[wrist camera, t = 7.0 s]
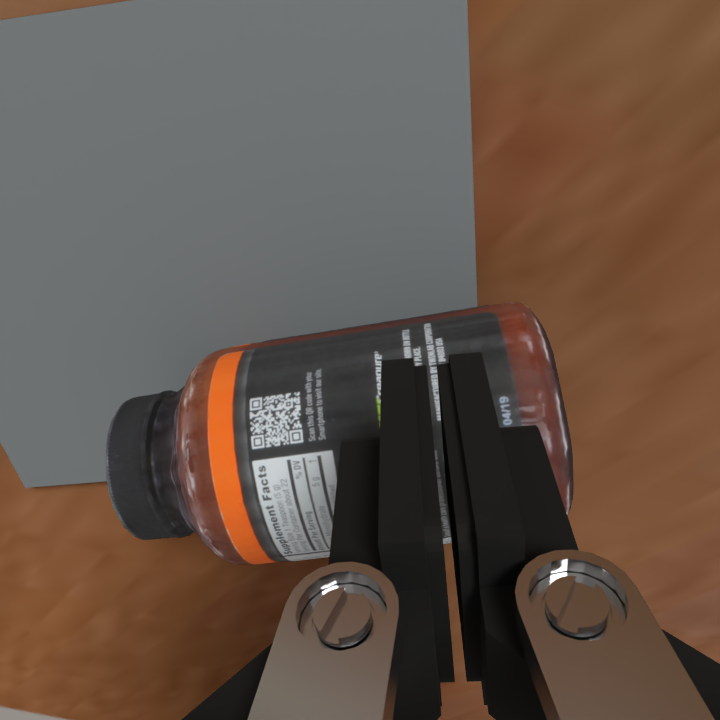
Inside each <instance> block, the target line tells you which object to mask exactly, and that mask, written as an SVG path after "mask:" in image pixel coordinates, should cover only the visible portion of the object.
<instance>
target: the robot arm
mask: <svg viewBox="0 0 720 720" xmlns="http://www.w3.org/2000/svg"><path fill="white" fill-rule="evenodd" d="M437 376H438V389H439V402H440V416H441V429H442V442H443V456H444V469H445V482H446V494H447V504H448V513H449V522H450V531H451V540H452V550H453V559H454V568H455V577H456V586H457V596H458V605H459V614H460V623H461V632H462V642H463V651H464V660H465V669H466V678H467V682H468V681H481V683H482V690H483V698H484V705H488V712H489V714H490V715H491V716H492V717H493V718H494V719H496V720H720V664H719V663H717V662H715V661H714V660H712V659H710V658H709V657H707V656H705V655H704V654H702V653H700V652H699V651H697V650H695V649H694V648H692V647H691V646H689V645H687V644H686V643H684V642H682V641H681V640H679V639H677V638H676V637H674V636H672V635H671V634H669V633H667V632H666V631H664V630H662V629H661V627H660V626H659V624H658V622H657V621H656V619H655V617H654V616H653V614H652V612H651V611H650V609H649V607H648V605H647V604H646V602H645V600H644V599H643V597H642V595H641V594H640V592H639V590H638V588H637V587H636V585H635V584H634V583H633V582H632V580H631V579H630V578H629V577H628V576H627V574H626V573H625V572H624V571H623V570H621V569H620V568H618V567H617V566H616V565H614V564H613V563H612V562H610V561H609V560H606V559H604V558H602V557H600V556H597V555H595V554H593V553H589V552H583V551H579V550H578V547H577V544H576V541H575V538H574V535H573V532H572V529H571V526H570V523H569V520H568V516H567V513H566V510H565V507H564V504H563V501H562V498H561V495H560V492H559V489H558V486H557V482H556V479H555V476H554V473H553V470H552V467H551V464H550V461H549V458H548V455H547V451H546V448H545V445H544V442H543V439H542V436H541V433H540V431H539V428H538V427H537V426H536V425H529V426H516V427H502V428H500V427H499V423H498V419H497V415H496V411H495V407H494V402H493V398H492V394H491V390H490V386H489V381H488V377H487V373H486V369H485V365H484V360H483V356H482V353H481V352H473V353H461V354H450V355H449V363H444V364H437ZM440 682H455V679H454V667H453V655H452V643H451V631H450V619H449V607H448V595H447V583H446V571H445V559H444V548H443V536H442V525H441V515H440V504H439V493H438V483H437V472H436V461H435V451H434V440H433V429H432V419H431V408H430V397H429V387H428V376H427V366H426V365H421V366H414V360H413V358H404V359H393V360H382V361H381V404H380V437H369V438H356V439H343V440H342V442H341V447H340V455H339V465H338V475H337V485H336V495H335V505H334V515H333V525H332V535H331V545H330V555H329V565H327V566H324V567H321V568H318V569H317V570H315V571H314V572H312V573H310V574H309V575H307V576H305V577H304V578H303V579H302V580H301V581H300V582H299V584H298V585H297V586H296V587H295V588H294V589H293V590H292V592H291V594H290V596H289V598H288V600H287V602H286V604H285V607H284V610H283V613H282V616H281V619H280V622H279V625H278V628H277V631H276V635H275V638H274V641H273V643H272V644H271V645H270V646H269V647H267V648H266V649H265V650H264V651H263V652H261V653H260V654H259V655H258V656H257V657H256V658H254V659H253V660H252V661H251V662H250V663H248V664H247V665H246V666H245V667H244V668H242V669H241V670H240V671H239V672H238V673H237V674H235V675H234V676H233V677H232V678H231V679H229V680H228V681H227V682H226V683H225V684H223V685H222V686H221V687H220V688H219V689H218V690H216V691H215V692H214V693H213V694H212V695H210V696H209V697H208V698H207V699H206V700H204V701H203V702H202V703H201V704H200V705H199V706H197V707H196V708H195V709H194V710H193V711H191V712H190V713H189V714H188V715H187V716H186V717H184V718H183V719H182V720H437V719H438V718H439V717H440V716H441V706H442V702H441V688H440Z"/></svg>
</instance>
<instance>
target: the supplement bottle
mask: <svg viewBox="0 0 720 720" xmlns="http://www.w3.org/2000/svg"><path fill="white" fill-rule="evenodd" d="M473 352H481V353H482V356H483V360H484V365H485V369H486V373H487V377H488V381H489V386H490V390H491V394H492V398H493V402H494V407H495V411H496V415H497V419H498V423H499V427H500V428H502V427H516V426H529V425H536V426H537V427H538V428H539V431H540V433H541V436H542V439H543V442H544V445H545V448H546V451H547V455H548V458H549V461H550V464H551V467H552V470H553V473H554V476H555V479H556V482H557V486H558V489H559V492H560V495H561V498H562V501H563V504H564V507H565V510H566V513H567V516H568V513H569V511H570V508H571V503H572V500H573V455H572V447H571V439H570V433H569V428H568V422H567V417H566V412H565V407H564V403H563V398H562V393H561V388H560V384H559V378H558V373H557V369H556V364H555V359H554V354H553V351H552V348H551V345H550V343H549V340H548V338H547V335H546V332H545V330H544V328H543V326H542V325H541V324H540V322H539V320H538V319H537V317H536V316H535V315H534V313H533V312H532V311H531V309H529V308H528V307H527V306H525V305H523V304H521V303H515V302H511V303H503V304H497V305H485V306H479V307H473V308H467V309H462V310H453V311H448V312H442V313H436V314H430V315H424V316H417V317H412V318H406V319H399V320H392V321H385V322H380V323H374V324H367V325H361V326H355V327H347V328H343V329H337V330H330V331H324V332H318V333H311V334H306V335H299V336H291V337H286V338H279V339H272V340H267V341H263V342H258V343H252V344H245V345H239V346H234V347H229V348H225V349H221V350H218V351H215V352H213V353H211V354H209V355H208V356H206V357H205V358H204V359H202V360H201V361H200V362H199V363H198V364H197V365H196V367H195V368H194V369H193V370H192V372H191V374H190V375H189V377H188V379H187V381H186V384H185V386H184V387H183V388H182V389H180V390H179V391H177V392H176V391H172V390H169V391H168V390H166V391H163V392H161V393H157V394H152V395H146V396H138V397H134V398H131V399H129V400H127V401H125V402H124V403H123V404H122V405H121V406H120V407H119V408H118V410H117V411H116V414H115V416H114V417H113V418H112V420H111V423H110V426H109V429H108V433H107V441H106V452H105V473H106V480H107V484H108V491H109V495H110V498H111V501H112V504H113V508H114V510H115V511H116V514H117V516H118V518H119V519H120V521H121V522H122V524H123V526H124V528H125V529H127V530H128V531H129V532H130V533H131V534H133V535H134V536H135V537H137V538H139V539H141V540H150V539H161V538H170V537H178V538H181V537H185V536H189V535H191V534H192V533H193V532H195V533H197V534H198V535H199V536H200V538H201V539H202V542H203V543H204V544H205V545H206V546H207V547H208V548H209V549H210V550H211V551H212V552H214V553H215V554H216V555H217V556H219V557H221V558H222V559H224V560H226V561H228V562H231V563H235V564H243V565H248V564H265V563H273V562H281V561H299V560H307V559H316V558H324V557H329V555H330V545H331V535H332V525H333V515H334V505H335V495H336V485H337V475H338V465H339V455H340V447H341V442H342V440H343V439H356V438H369V437H380V404H381V361H382V360H393V359H404V358H413V360H414V366H421V365H426V366H427V376H428V387H429V397H430V408H431V419H432V429H433V440H434V451H435V461H436V472H437V483H438V493H439V504H440V515H441V525H442V536H443V544H447V543H452V540H451V531H450V522H449V513H448V504H447V494H446V482H445V469H444V456H443V442H442V429H441V416H440V402H439V389H438V376H437V364H444V363H449V355H450V354H461V353H473Z"/></svg>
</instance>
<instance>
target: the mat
mask: <svg viewBox="0 0 720 720" xmlns="http://www.w3.org/2000/svg"><path fill="white" fill-rule="evenodd" d="M473 307H477V280H476V250H475V220H474V190H473V159H472V129H471V99H470V69H469V39H468V9H467V0H131V1H125V2H118V3H111V4H105V5H98V6H92V7H85V8H78V9H72V10H65V11H59V12H52V13H45V14H39V15H32V16H25V17H19V18H12V19H6V20H0V442H1V444H2V446H3V448H4V450H5V452H6V453H7V455H8V457H9V459H10V461H11V463H12V464H13V466H14V468H15V470H16V472H17V473H18V475H19V477H20V479H21V481H22V483H23V484H24V486H25V488H30V487H42V486H55V485H67V484H79V483H92V482H104V481H107V480H106V473H105V452H106V441H107V433H108V429H109V426H110V423H111V420H112V418H113V417H114V416H115V414H116V411H117V410H118V408H119V407H120V406H121V405H122V404H123V403H124V402H125V401H127V400H129V399H131V398H134V397H138V396H146V395H152V394H157V393H161V392H163V391H166V390H168V391H169V390H172V391H176V392H177V391H179V390H180V389H182V388H183V387H184V386H185V384H186V381H187V379H188V377H189V375H190V374H191V372H192V370H193V369H194V368H195V367H196V365H197V364H198V363H199V362H200V361H201V360H202V359H204V358H205V357H206V356H208V355H209V354H211V353H213V352H215V351H218V350H221V349H225V348H229V347H234V346H239V345H245V344H252V343H258V342H263V341H267V340H272V339H279V338H286V337H291V336H299V335H306V334H311V333H318V332H324V331H330V330H337V329H343V328H347V327H355V326H361V325H367V324H374V323H380V322H385V321H392V320H399V319H406V318H412V317H417V316H424V315H430V314H436V313H442V312H448V311H453V310H462V309H467V308H473Z"/></svg>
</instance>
